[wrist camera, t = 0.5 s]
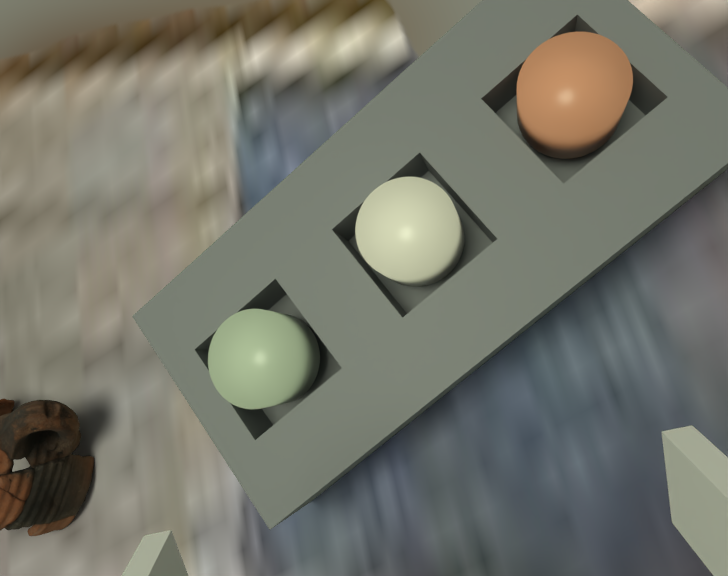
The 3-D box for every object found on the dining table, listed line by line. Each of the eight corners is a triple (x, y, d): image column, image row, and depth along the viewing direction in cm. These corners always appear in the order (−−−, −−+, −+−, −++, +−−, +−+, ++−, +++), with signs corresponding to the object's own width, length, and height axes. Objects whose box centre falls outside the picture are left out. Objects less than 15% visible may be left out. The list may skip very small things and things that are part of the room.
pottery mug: (46, 566, 40) (-101, 574, 34) (44, 450, 46) (-81, 441, 40) (130, 463, 35) (-23, 454, 30) (115, 351, 41) (-14, 325, 36)
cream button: (484, 243, 29) (480, 231, 26) (409, 306, 30) (397, 300, 27) (423, 174, 31) (413, 155, 28) (352, 236, 31) (335, 223, 28)
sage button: (337, 366, 31) (318, 366, 28) (268, 423, 31) (243, 430, 28) (284, 294, 32) (261, 288, 29) (219, 351, 33) (190, 350, 30)
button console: (725, 170, 31) (772, 127, 25) (311, 501, 35) (269, 529, 29) (548, 6, 34) (553, -65, 29) (190, 322, 38) (132, 316, 33)
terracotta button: (644, 110, 28) (658, 82, 25) (562, 178, 29) (567, 158, 26) (573, 44, 29) (579, 10, 26) (496, 110, 30) (494, 84, 27)
